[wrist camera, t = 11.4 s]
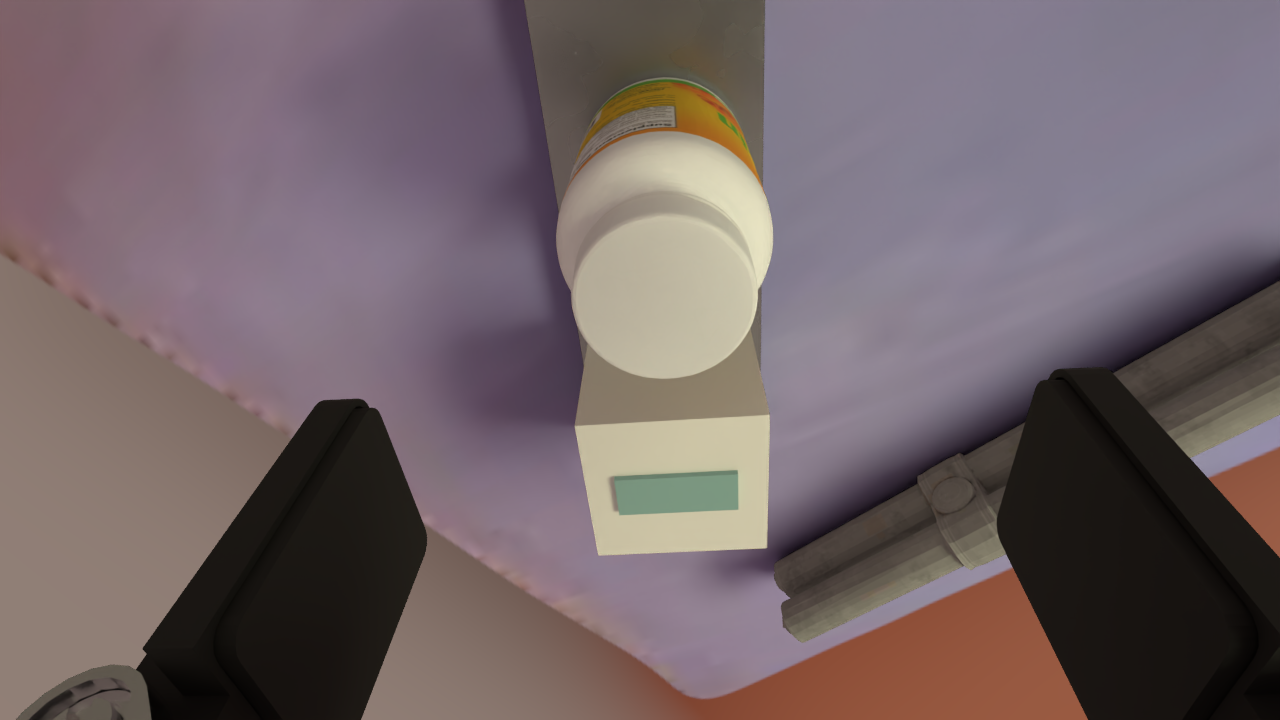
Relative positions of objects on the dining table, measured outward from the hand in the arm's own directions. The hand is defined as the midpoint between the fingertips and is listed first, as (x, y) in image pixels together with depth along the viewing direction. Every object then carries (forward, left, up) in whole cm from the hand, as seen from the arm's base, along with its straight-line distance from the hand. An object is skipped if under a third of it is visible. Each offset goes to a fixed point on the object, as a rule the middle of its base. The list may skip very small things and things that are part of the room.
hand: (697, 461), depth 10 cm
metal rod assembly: (-14, +14, -16) cm, 26 cm away
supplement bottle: (0, 0, -15) cm, 15 cm away
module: (+1, +9, -15) cm, 17 cm away
